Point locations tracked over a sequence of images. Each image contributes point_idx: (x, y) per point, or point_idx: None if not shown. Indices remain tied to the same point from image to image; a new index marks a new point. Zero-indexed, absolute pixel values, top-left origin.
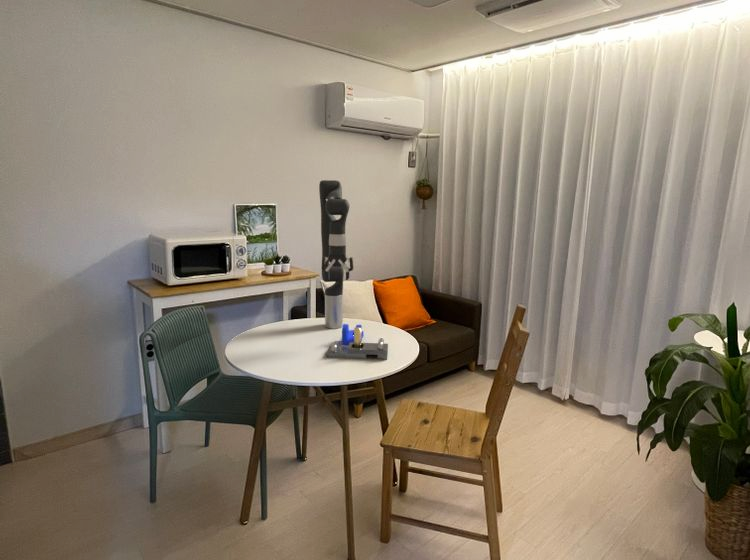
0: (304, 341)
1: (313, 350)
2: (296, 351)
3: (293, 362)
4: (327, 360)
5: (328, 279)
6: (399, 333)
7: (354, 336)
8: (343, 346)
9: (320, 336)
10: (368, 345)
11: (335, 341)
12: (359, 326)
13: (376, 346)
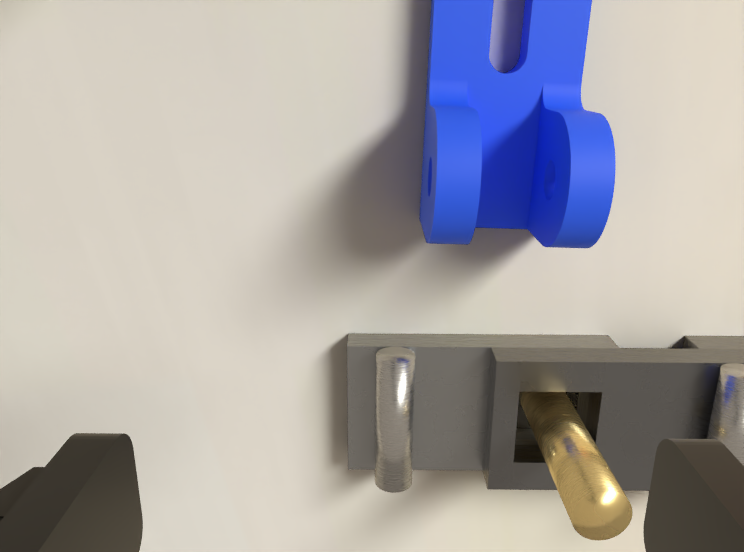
0: (120, 171)
1: (242, 348)
2: (138, 375)
3: (184, 534)
4: (367, 493)
5: (134, 538)
6: None
7: (554, 481)
8: (447, 350)
9: (209, 24)
10: (634, 412)
11: (392, 376)
12: (596, 221)
13: (690, 427)
